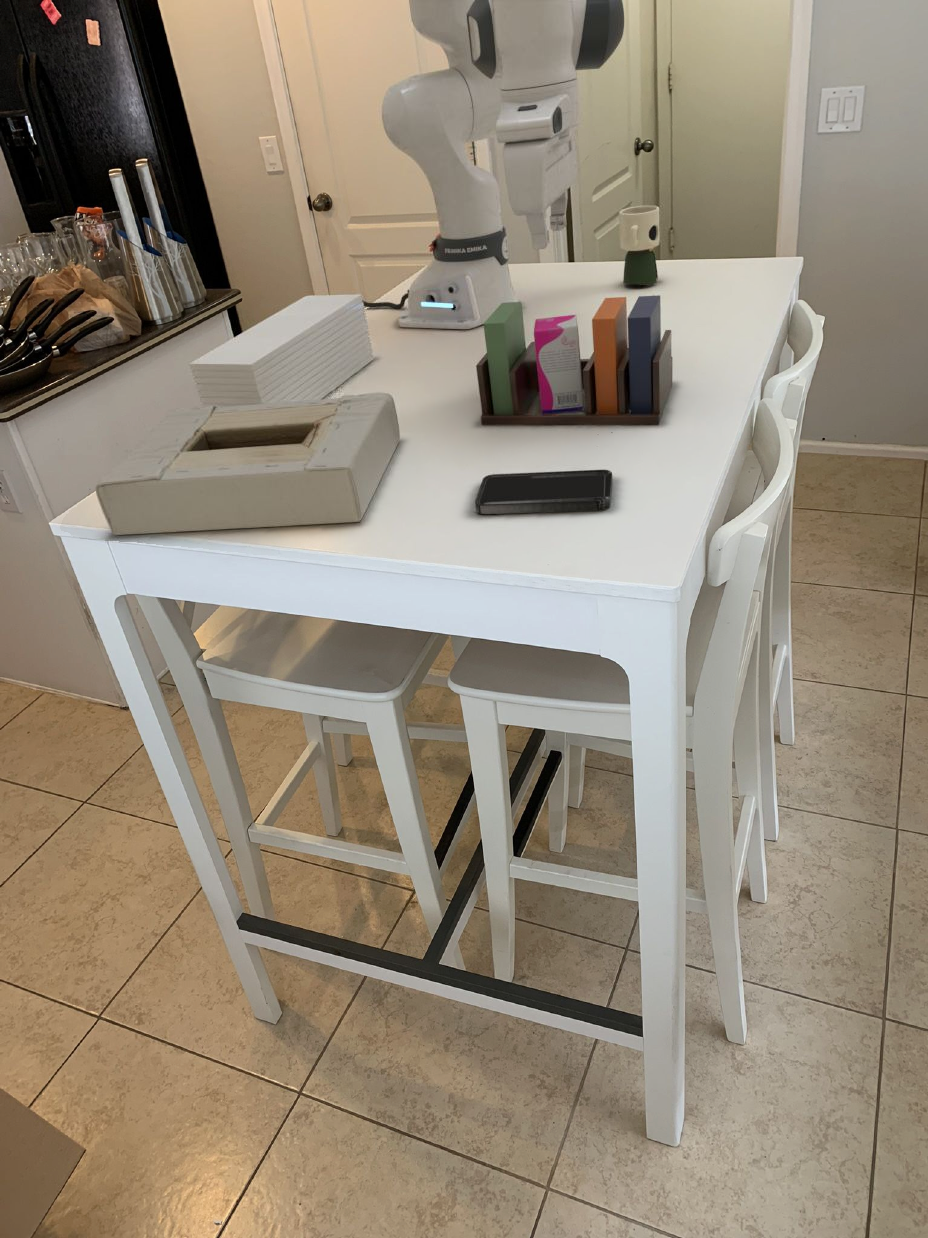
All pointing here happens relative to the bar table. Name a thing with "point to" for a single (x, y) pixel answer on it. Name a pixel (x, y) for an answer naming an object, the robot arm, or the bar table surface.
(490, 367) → the green book
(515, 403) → the book rack
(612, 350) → the orange book
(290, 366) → the white long layered block
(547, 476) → the phone
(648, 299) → the navy book
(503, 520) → the bar table surface
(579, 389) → the supplement box
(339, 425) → the box
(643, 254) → the character mug
